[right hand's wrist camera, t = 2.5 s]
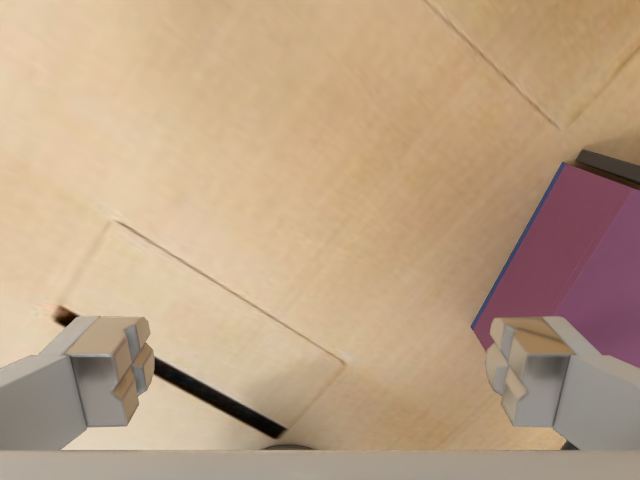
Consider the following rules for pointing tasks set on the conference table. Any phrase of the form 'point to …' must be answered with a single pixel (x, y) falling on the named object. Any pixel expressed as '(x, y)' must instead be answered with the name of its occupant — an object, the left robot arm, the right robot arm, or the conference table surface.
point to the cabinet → (576, 265)
